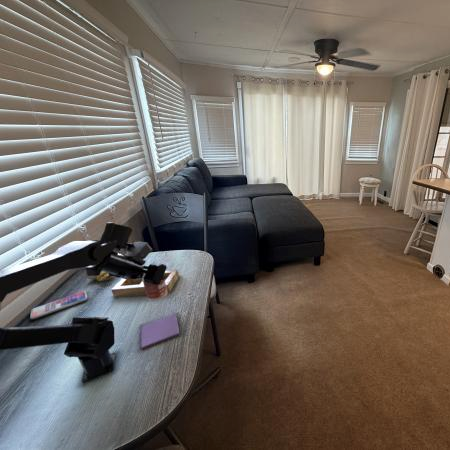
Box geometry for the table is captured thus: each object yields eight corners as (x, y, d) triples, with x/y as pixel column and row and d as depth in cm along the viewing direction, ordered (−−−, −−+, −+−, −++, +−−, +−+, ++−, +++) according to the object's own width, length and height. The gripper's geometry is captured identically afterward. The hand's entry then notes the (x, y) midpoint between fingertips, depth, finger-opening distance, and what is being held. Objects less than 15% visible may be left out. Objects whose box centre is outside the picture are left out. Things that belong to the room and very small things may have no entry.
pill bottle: (164, 299, 80) (157, 271, 77) (144, 302, 79) (136, 273, 76) (170, 289, 86) (163, 261, 82) (151, 291, 85) (144, 263, 81)
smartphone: (30, 308, 85) (85, 290, 95) (32, 311, 85) (86, 292, 95) (29, 318, 80) (87, 298, 90) (30, 321, 80) (88, 300, 90)
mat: (179, 334, 74) (179, 332, 74) (141, 348, 69) (141, 347, 69) (175, 315, 82) (175, 313, 82) (141, 327, 77) (141, 325, 77)
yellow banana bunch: (109, 256, 111) (113, 266, 100) (116, 266, 114) (120, 278, 103) (83, 266, 106) (84, 278, 95) (90, 277, 108) (92, 290, 97)
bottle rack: (169, 292, 94) (167, 284, 93) (113, 297, 92) (111, 289, 91) (179, 276, 104) (177, 269, 103) (129, 280, 102) (127, 273, 101)
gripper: (154, 241, 69) (188, 257, 82) (107, 235, 74) (146, 251, 88) (136, 279, 64) (175, 290, 78) (87, 270, 69) (132, 281, 83)
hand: (157, 276), depth 82 cm, fingers closed on pill bottle, 6 cm apart
